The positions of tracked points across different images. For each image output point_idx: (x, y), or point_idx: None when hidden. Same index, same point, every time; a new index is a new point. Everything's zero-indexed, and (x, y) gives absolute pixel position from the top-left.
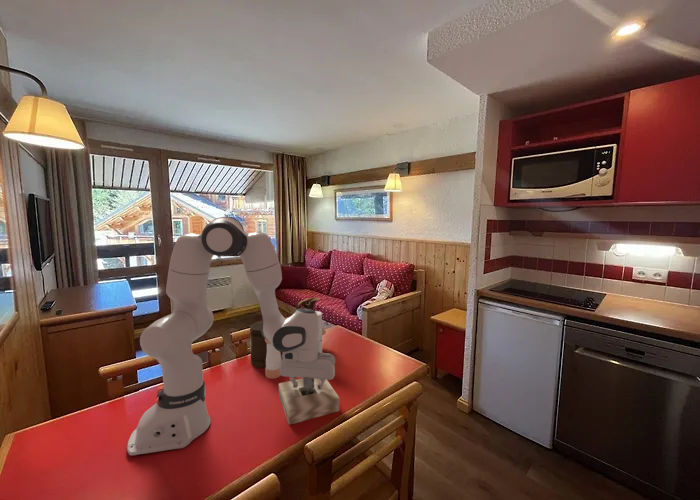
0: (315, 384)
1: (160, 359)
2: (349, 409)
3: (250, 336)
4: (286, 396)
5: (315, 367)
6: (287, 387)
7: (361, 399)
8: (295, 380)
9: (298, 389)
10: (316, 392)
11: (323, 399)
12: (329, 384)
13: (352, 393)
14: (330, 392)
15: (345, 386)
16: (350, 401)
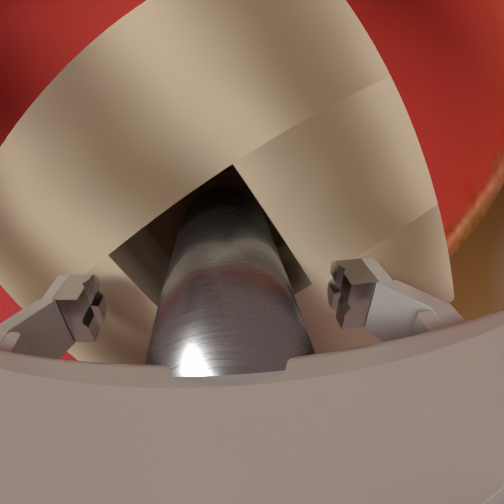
0: (264, 148)
1: None
2: (451, 233)
3: None
4: (93, 359)
5: None
6: (25, 263)
7: (497, 149)
8: (50, 308)
9: (118, 274)
10: (302, 267)
11: (366, 340)
12: (410, 135)
13: (468, 90)
14: (417, 259)
15: (426, 10)
16: (461, 167)
